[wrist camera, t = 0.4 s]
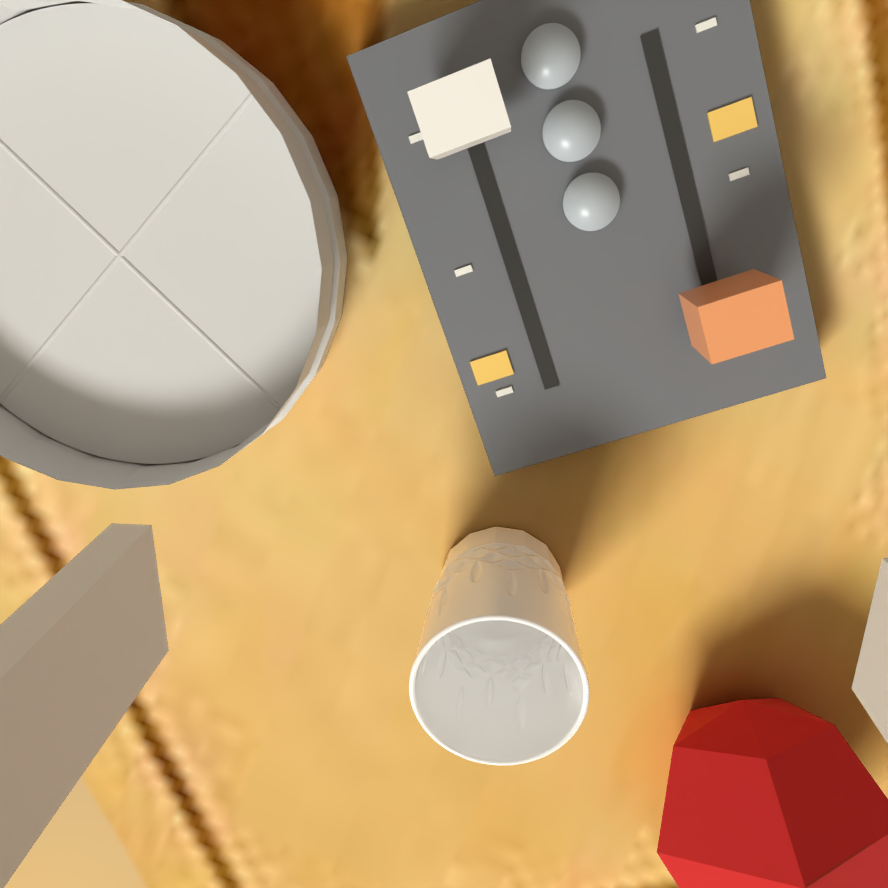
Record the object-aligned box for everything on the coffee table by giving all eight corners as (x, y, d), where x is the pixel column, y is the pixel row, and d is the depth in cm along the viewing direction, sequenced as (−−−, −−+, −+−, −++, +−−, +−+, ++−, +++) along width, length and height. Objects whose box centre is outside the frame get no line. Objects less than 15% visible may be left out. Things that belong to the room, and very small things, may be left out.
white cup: (404, 594, 44) (375, 710, 34) (480, 489, 41) (472, 583, 32) (519, 662, 45) (521, 793, 35) (600, 564, 42) (626, 677, 33)
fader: (672, 289, 34) (697, 307, 30) (745, 265, 33) (781, 280, 29) (685, 339, 35) (711, 364, 30) (756, 317, 34) (794, 339, 30)
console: (357, 64, 35) (343, 54, 32) (712, -83, 32) (732, -109, 29) (495, 458, 40) (494, 480, 37) (806, 365, 37) (831, 381, 34)
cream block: (421, 103, 32) (407, 91, 28) (493, 74, 32) (490, 58, 27) (440, 160, 33) (429, 157, 29) (510, 133, 32) (511, 126, 28)
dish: (441, 259, 37) (431, 271, 33) (168, 532, 44) (127, 575, 39) (87, -115, 33) (18, -162, 29) (-158, 246, 40) (-247, 256, 35)
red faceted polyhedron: (836, 652, 45) (892, 906, 44) (628, 680, 48) (679, 919, 47) (912, 730, 33) (989, 1074, 33) (632, 761, 36) (699, 1079, 36)
